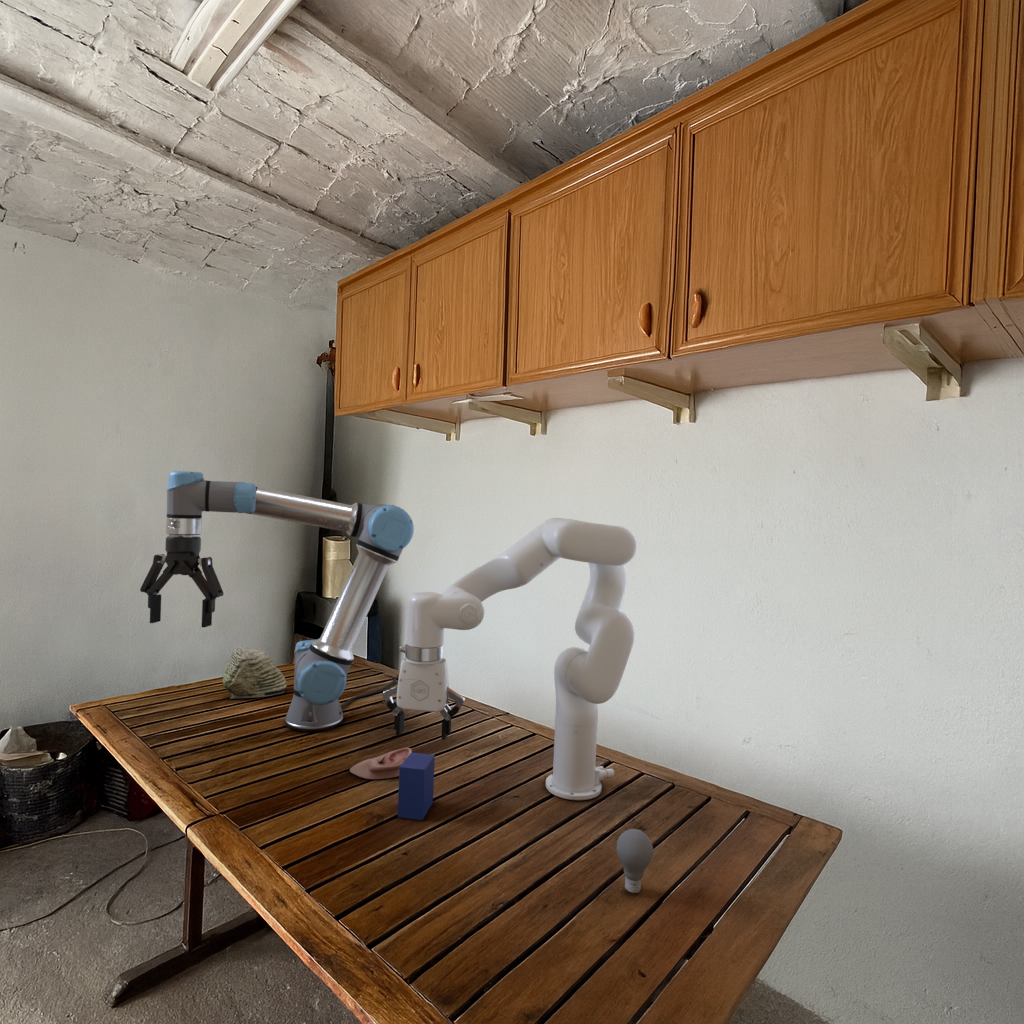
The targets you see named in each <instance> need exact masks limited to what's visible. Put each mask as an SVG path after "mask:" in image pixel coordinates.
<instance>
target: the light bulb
mask: <svg viewBox="0 0 1024 1024" xmlns="http://www.w3.org/2000/svg"><path fill="white" fill-rule="evenodd" d="M615 849H616V854H617V857H618V859H619V861H620V863H621V865H622V867H623V873H624V874H623V875H624V876H625V878H624V888H625V890H627V891H628V892H630V893H634V894H635V893H639V892H640V891H641V889H642V887H641V886H642V879H643V877H644V875H645V871H646V868H647V867H648V866H649V864H650V863H651V861H652V859H653V855H654V847H653V843H652V841H651V838H649V836H648V835H647V834H646V833H645V832H643V831H642V830H641V829H636V828H629V829H627V830H625V831H623V832H622V833H621V834H620V835H619V837H618V839H617V841H616V847H615Z"/></svg>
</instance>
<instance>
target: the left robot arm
mask: <svg viewBox="0 0 1024 1024" xmlns="http://www.w3.org/2000/svg"><path fill="white" fill-rule="evenodd" d="M167 480H168V481H167V489H166V522H165V523H166V525H165V526H166V528H165V533H166V535H168V536H166V537H165V549H164V550H165V552H166V555H165V554H164V553H160V554H159V553H158V554H154V555H153V558H152V559H153V560H152V565H151V567H150V569H149V570H148V572H147V574H146V576H145V578H144V580H143V583H142V584H141V586H140V589H139V591H140V592H141V593H145V594H146V595H147V608H148V609H149V624H155V623H159V622H162V621H161V620H162V619H161V618H162V617H161V616H162V613H161V612H162V594H161V593H160V591H161V590H162V589H163V588H164V587H165V585H166V584H168V582H169V581H170V580H171V578H172V577H173V576H176V575H177V576H178V575H181V576H188V577H189V578H191V580H192V581H193V582H194V583H195V585H196V586H197V588H198V589H199V591H200V592H201V593H202V595H203V596H204V599H202V601H201V602H202V603H201V628H207V627H211V626H212V625H213V624H212V622H213V613H214V612H215V611H216V600H217V598H220V597H223V596H224V594H225V593H224V590H223V588H222V586H221V583H220V581H219V578H218V576H217V573H216V570H215V568H214V566H213V557H212V556H205V557H200V552H201V550H202V537H200V536H201V534H202V528H203V527H202V526H203V524H202V523H203V522H202V521H203V516H202V515H203V512H207V513H208V512H212V513H213V512H215V513H233V514H234V513H235V514H237V513H238V514H248V515H254V516H259V517H265V518H269V519H274V520H275V519H276V520H281V521H286V522H291V523H297V524H302V525H308V526H313V527H318V528H323V529H329V530H335V531H340V532H345V533H346V534H347V535H348V536H349V537H352V538H358V539H357V542H356V544H355V546H356V549H357V551H358V554H357V556H356V558H355V561H354V562H353V565H352V567H351V569H350V572H349V573H348V576H347V578H346V580H345V582H344V585H343V587H342V589H341V591H340V593H339V596H338V598H337V600H336V603H335V604H334V606H333V609H332V611H331V614H330V616H329V618H328V620H327V622H326V624H325V626H324V629H323V631H322V633H321V635H320V637H319V638H317V639H307V640H300V641H298V642H297V643H295V648H294V649H295V650H294V672H293V673H294V674H293V675H294V676H293V695H292V696H293V697H292V699H291V702H290V704H289V708H288V711H287V713H286V715H285V726H286V728H287V729H289V730H291V731H294V732H295V731H296V732H301V733H316V732H325V731H329V730H332V729H335V728H337V727H339V726H340V725H342V723H343V722H344V714H343V709H342V708H345V707H346V706H347V705H348V704H349V703H350V702H352V701H354V700H356V699H359V698H363V697H367V696H370V695H373V694H376V693H379V692H382V691H385V690H387V689H389V688H391V686H392V685H393V684H395V683H396V681H397V679H399V674H398V675H396V676H395V677H394V678H393V680H392V681H391V682H390V683H388V684H387V685H385V686H383V687H381V688H379V689H376V690H372V691H369V692H366V693H363V694H362V693H361V694H358V695H356V696H355V695H354V696H353V697H350V698H349V699H347V700H346V701H345V702H344V703H342V704H341V702H340V699H339V698H340V697H341V696H342V695H343V693H344V691H345V689H346V686H347V675H348V673H349V671H350V669H351V666H352V664H353V662H354V660H355V657H354V654H353V647H354V646H355V643H356V640H357V639H358V636H359V634H360V632H361V629H362V627H363V625H364V622H365V620H366V619H367V616H368V615H369V612H370V609H371V607H372V605H373V603H374V600H375V598H376V596H377V594H378V592H379V589H380V587H381V585H382V583H383V580H384V578H385V577H386V574H387V572H388V569H389V567H390V566H391V565H394V564H396V563H398V561H399V559H400V557H401V555H402V552H403V551H404V549H405V548H406V547H407V546H408V545H409V544H410V542H411V541H412V539H413V537H414V532H415V528H414V527H415V525H414V522H413V519H412V517H411V516H410V515H409V513H408V512H407V511H406V510H405V509H403V508H402V507H400V506H397V505H394V504H367V503H361V502H354V503H353V504H347V503H343V502H336V501H332V500H327V499H322V498H316V497H312V496H306V495H301V494H296V493H290V492H286V491H281V490H275V489H270V488H266V487H260V486H256V484H255V483H254V482H245V481H222V480H217V481H216V480H206V479H205V477H204V474H203V472H201V471H185V470H173V471H171V472H170V473H169V474H168V477H167ZM165 564H166V567H165V568H164V566H165ZM200 567H201V569H200ZM163 568H164V569H163ZM162 570H163V571H162ZM161 572H162V573H161ZM159 575H160V576H159Z"/></svg>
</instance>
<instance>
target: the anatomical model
mask: <svg viewBox="0 0 1024 1024" xmlns="http://www.w3.org/2000/svg"><path fill="white" fill-rule="evenodd" d="M412 751H413V750H412V749H411V748H410V747H403V748H402V747H401V748H398V749H396V750H395V749H394V750H391V751H389V752H386V753H383V754H381V755H379V756H375V757H371V758H368V759H364V760H362V761H360V762H358V763H356V764H354V765H353V766H352V767H351V768H350V769H349V773H351V774H353V775H354V776H357V777H359V778H362V779H366V780H382V779H383V780H384V779H392V778H396V777H399V768H400V766H401V764H402V763H403V762H404V761H405V760H406V758H407V757H408V756H409V755H410V753H413V752H412Z"/></svg>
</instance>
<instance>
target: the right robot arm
mask: <svg viewBox="0 0 1024 1024" xmlns="http://www.w3.org/2000/svg"><path fill="white" fill-rule="evenodd" d="M637 550H638V541H637V539H636V536H635V534H634V533H633V532H632V531H630V529H628V528H627V527H624V526H618V525H610V524H603V523H595V522H587V521H582V520H578V519H573V518H563V517H552V518H549V519H546V520H544V521H543V522H541V523H540V524H539V525H538V526H536V527H535V528H534V529H532V530H531V531H530V532H528V533H527V534H526V535H524V536H523V537H521V538H520V539H519V540H518V541H516V542H515V543H513V545H510V547H508V548H507V549H506V550H505V551H503V552H502V553H500V554H498V555H496V556H494V557H492V558H490V559H489V560H487V561H485V562H483V563H482V564H480V565H478V566H476V567H474V568H473V569H471V570H469V571H468V572H467V573H465V574H464V575H463V576H461V577H459V578H458V579H457V580H456V581H454V582H453V583H451V584H450V585H449V586H448V587H447V588H445V590H444V591H443V592H442V593H438V592H433V591H420V592H414V593H412V594H410V595H409V597H408V599H407V622H406V623H407V624H406V625H407V627H406V644H404V645H399V646H400V647H399V653H403V654H404V655H405V657H404V658H402V659H401V663H400V667H399V674H398V675H399V677H398V680H397V685H395V686H393V687H390V688H387V689H385V690H384V691H383V692H382V694H381V695H382V697H383V700H384V702H385V704H386V707H387V708H388V709H389V710H390V712H391V714H392V716H393V730H395V736H398V737H399V736H400V735H401V734H403V732H404V731H405V712H404V710H405V711H406V710H407V711H416V712H426V713H427V712H429V713H440V714H441V716H442V717H443V719H442V720H441V740H443V741H446V739H447V738H448V736H449V735H450V736H451V733H452V718H453V717H454V716H455V715H456V714H458V713H459V712H460V710H461V708H462V707H463V705H464V703H465V701H466V698H465V696H463V695H462V694H460V693H458V692H457V691H455V690H454V689H451V688H450V683H449V681H450V680H449V671H448V663H447V660H446V658H444V643H445V642H444V641H445V640H444V639H445V629H450V630H458V631H469V630H472V629H475V628H477V627H478V626H480V624H481V623H482V622H483V621H484V618H485V614H486V613H485V606H484V604H483V603H482V602H484V601H485V600H487V599H489V598H490V597H492V596H493V595H495V594H497V593H500V592H503V591H506V590H514V589H517V588H520V587H524V586H526V585H528V584H529V583H531V581H533V580H534V579H535V578H537V577H538V576H539V575H540V574H542V573H543V572H545V570H547V569H548V568H549V567H550V566H552V565H553V564H555V563H556V562H557V561H558V560H559V559H564V560H571V561H576V562H581V563H588V566H589V580H588V584H587V587H586V590H585V593H584V596H583V599H582V602H581V605H580V607H579V610H578V613H577V615H576V619H575V623H574V631H575V634H576V636H577V637H578V638H579V640H581V641H582V642H584V643H586V644H587V645H589V647H588V649H586V648H583V647H579V646H570V647H567V648H565V649H564V650H562V651H561V652H560V653H559V654H558V656H557V658H556V660H555V662H554V667H553V678H554V688H555V719H554V736H553V738H554V740H553V758H552V759H553V761H552V763H553V764H552V773H551V774H549V775H548V776H547V777H546V779H545V789H546V790H547V791H548V792H549V793H550V794H552V795H554V796H555V797H558V798H561V799H565V800H569V801H570V800H571V801H586V800H592V799H594V798H597V797H598V796H599V795H601V793H602V789H603V788H602V787H603V786H602V783H601V781H603V779H611V778H615V770H614V769H613V768H604V766H603V765H600V766H599V765H598V766H596V761H597V742H598V722H599V705H601V704H604V703H606V702H608V701H609V700H611V699H612V698H613V697H614V695H615V694H616V692H617V690H618V689H619V686H620V683H621V681H622V679H623V676H624V672H625V670H626V667H627V664H628V661H629V659H630V655H631V653H632V650H633V647H634V642H635V635H636V633H635V626H634V623H633V621H632V620H631V619H632V618H630V616H628V614H626V613H625V612H624V611H622V610H621V609H622V606H623V601H624V598H625V595H626V591H627V586H628V574H627V573H628V572H627V569H626V565H627V564H628V563H629V562H631V561H632V560H633V559H634V558H635V556H636V553H637ZM395 694H396V701H395V700H394V699H393V695H395ZM450 699H451V700H453V701H455V704H454V706H453V707H452V708H451V707H450V706H449V705H448V704H449V700H450Z"/></svg>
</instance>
